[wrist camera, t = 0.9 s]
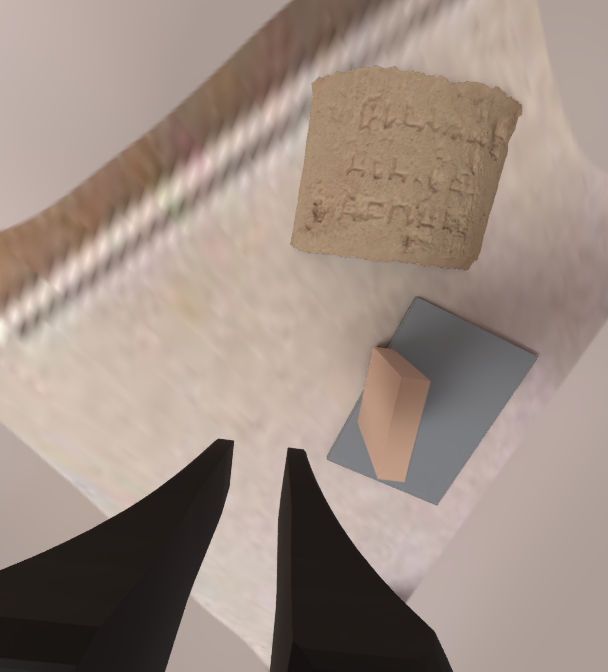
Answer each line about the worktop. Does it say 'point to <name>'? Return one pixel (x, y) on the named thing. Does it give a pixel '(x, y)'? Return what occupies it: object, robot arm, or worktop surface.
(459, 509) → the worktop surface
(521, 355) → the mat
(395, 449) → the tile
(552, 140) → the worktop surface
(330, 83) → the clay tablet
